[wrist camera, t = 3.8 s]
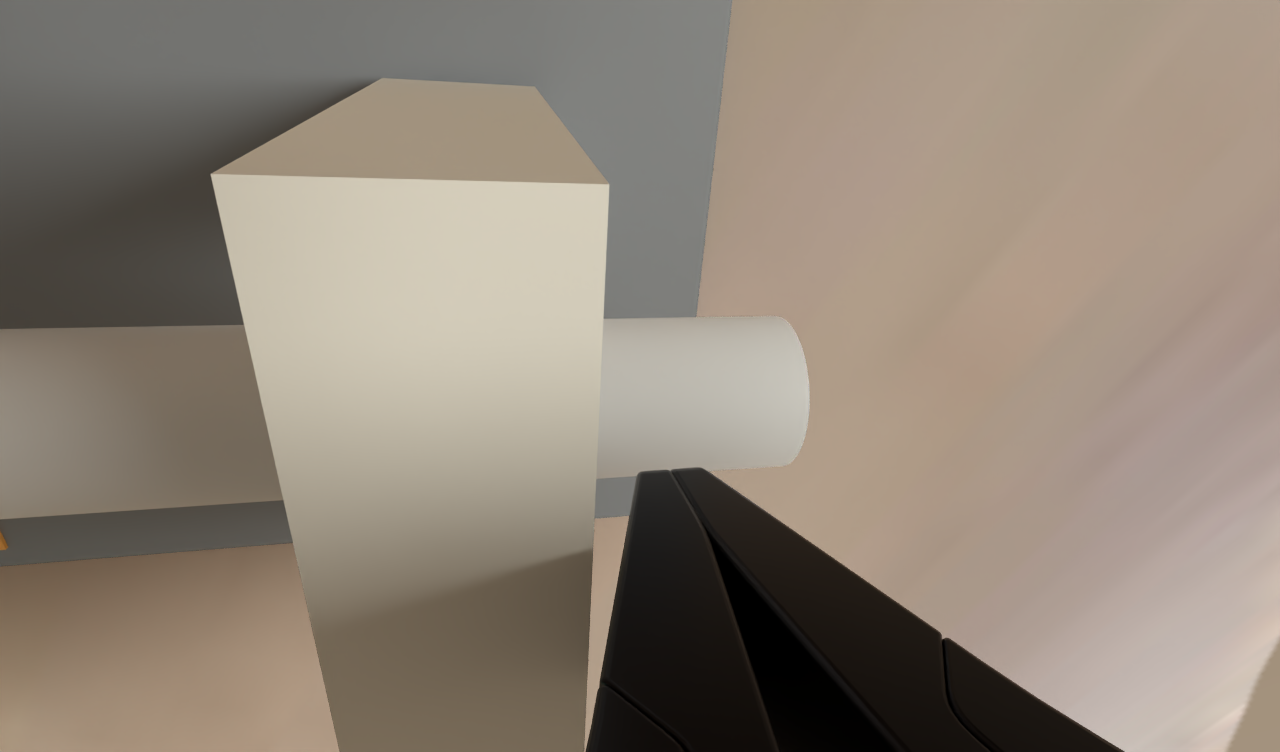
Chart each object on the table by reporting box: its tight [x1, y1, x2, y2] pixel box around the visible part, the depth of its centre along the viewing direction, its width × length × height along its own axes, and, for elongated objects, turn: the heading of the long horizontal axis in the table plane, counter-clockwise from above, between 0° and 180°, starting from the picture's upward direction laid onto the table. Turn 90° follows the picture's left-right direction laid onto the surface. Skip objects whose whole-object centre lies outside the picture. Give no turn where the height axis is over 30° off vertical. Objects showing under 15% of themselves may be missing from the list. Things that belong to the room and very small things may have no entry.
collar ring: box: [211, 78, 609, 752], centre depth 10 cm, size 2×8×8 cm, turn 176°
